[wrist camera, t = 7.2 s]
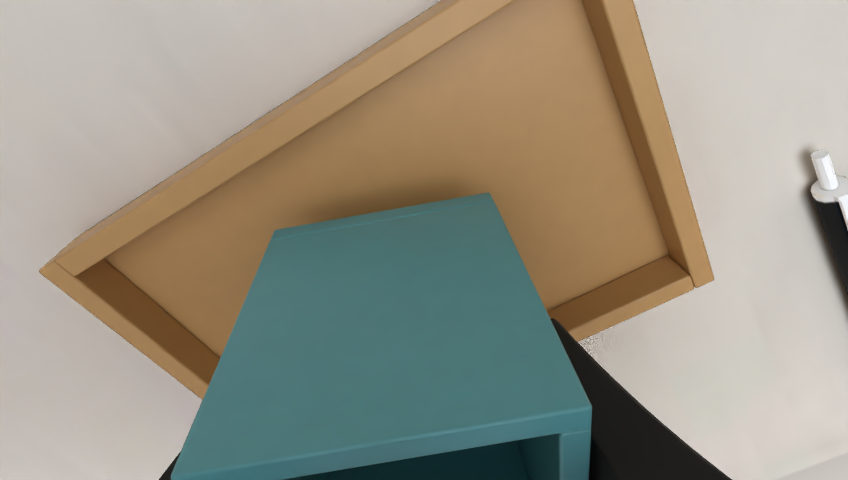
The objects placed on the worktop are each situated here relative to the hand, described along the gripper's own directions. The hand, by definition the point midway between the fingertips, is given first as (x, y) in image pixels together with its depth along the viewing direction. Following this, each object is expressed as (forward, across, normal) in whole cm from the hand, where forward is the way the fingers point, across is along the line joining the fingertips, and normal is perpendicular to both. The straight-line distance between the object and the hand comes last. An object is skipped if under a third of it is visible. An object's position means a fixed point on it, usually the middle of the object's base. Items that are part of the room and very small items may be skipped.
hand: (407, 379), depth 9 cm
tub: (+3, 0, 0) cm, 3 cm away
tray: (+5, 0, 0) cm, 5 cm away
